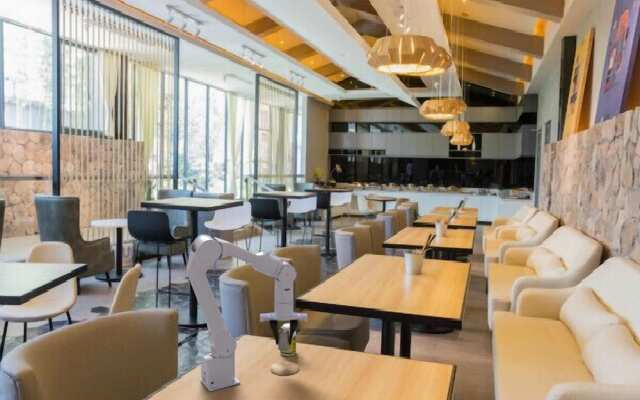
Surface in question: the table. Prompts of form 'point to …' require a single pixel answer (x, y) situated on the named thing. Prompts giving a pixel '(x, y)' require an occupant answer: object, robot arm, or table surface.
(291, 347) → the supplement bottle
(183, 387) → the table surface
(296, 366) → the coaster
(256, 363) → the table surface
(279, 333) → the plug
